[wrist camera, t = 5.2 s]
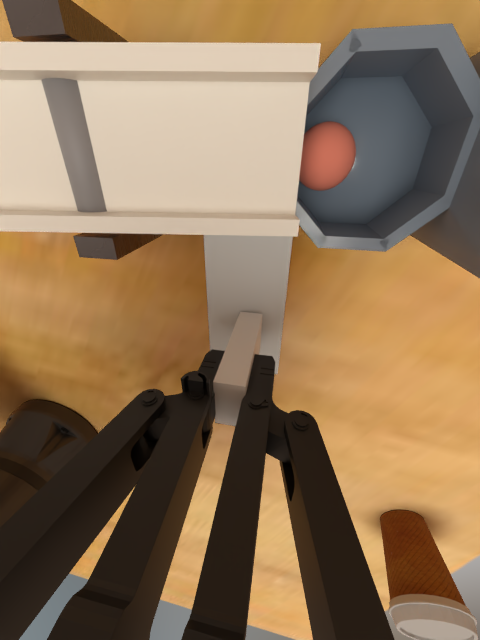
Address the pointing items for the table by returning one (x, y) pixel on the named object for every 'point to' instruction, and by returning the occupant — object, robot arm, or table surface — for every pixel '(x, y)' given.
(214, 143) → the lever
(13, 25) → the trough stand
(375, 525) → the table surface
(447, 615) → the disposable coffee cup
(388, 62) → the cup
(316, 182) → the rubber ball
